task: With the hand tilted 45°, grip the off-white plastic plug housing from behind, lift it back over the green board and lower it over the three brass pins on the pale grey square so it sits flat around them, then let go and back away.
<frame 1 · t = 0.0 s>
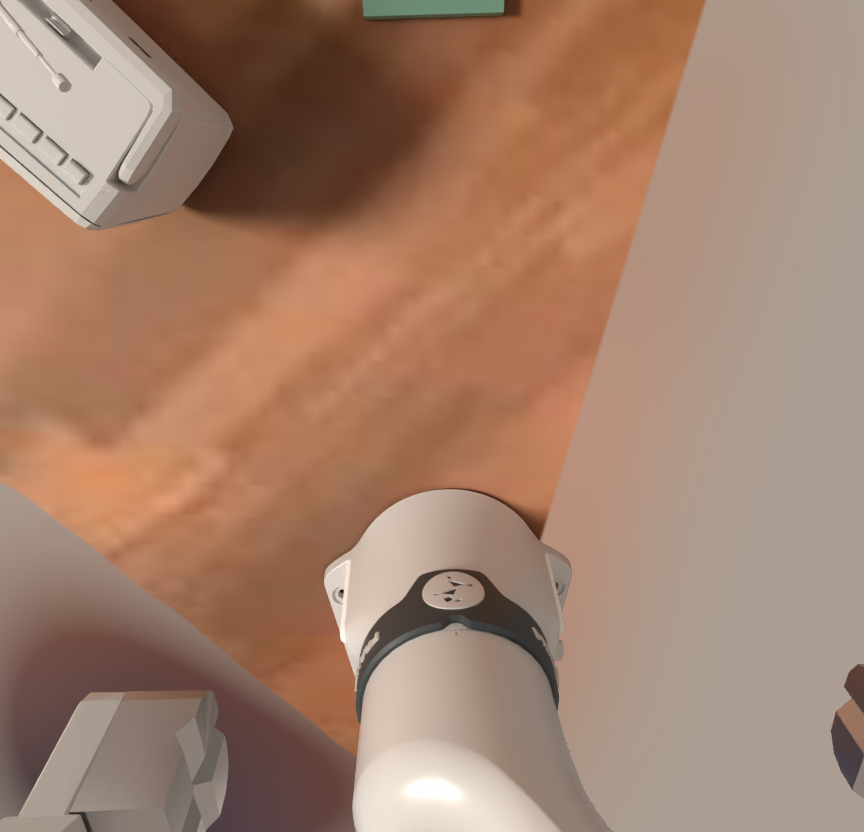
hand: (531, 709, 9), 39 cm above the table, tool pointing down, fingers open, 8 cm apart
stereo radio cassette player: (75, 39, 41), on the table
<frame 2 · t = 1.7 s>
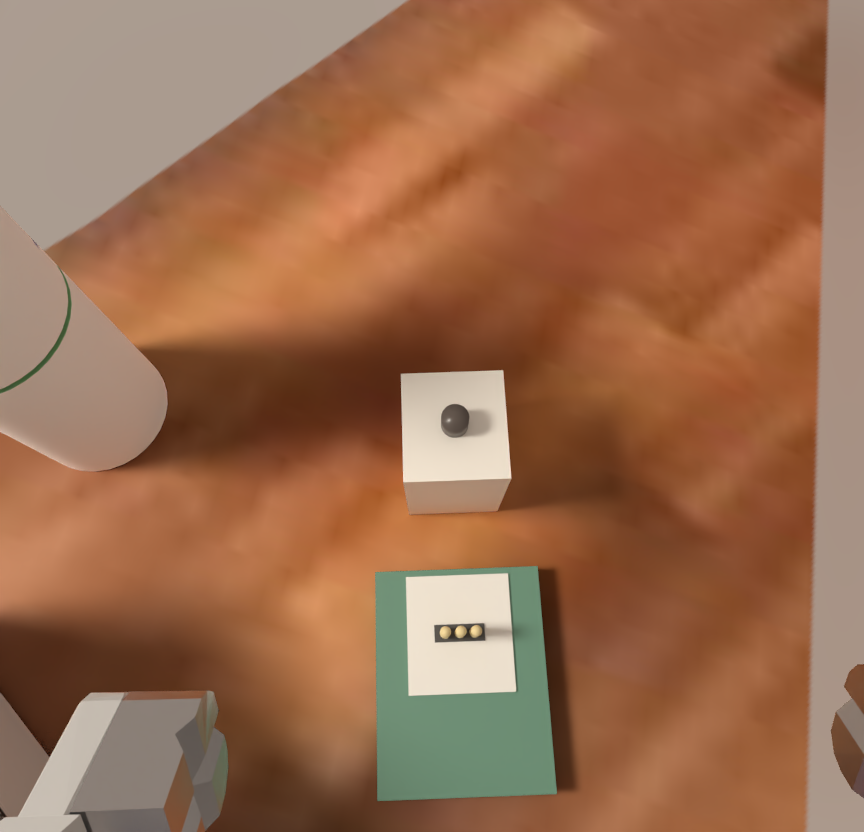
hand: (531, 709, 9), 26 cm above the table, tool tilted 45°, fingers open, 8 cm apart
stereo radio cassette player: (8, 822, 32), on the table
header board: (460, 677, 33), on the table
plug housing: (451, 466, 37), on the table
cylindrical container: (104, 409, 38), on the table
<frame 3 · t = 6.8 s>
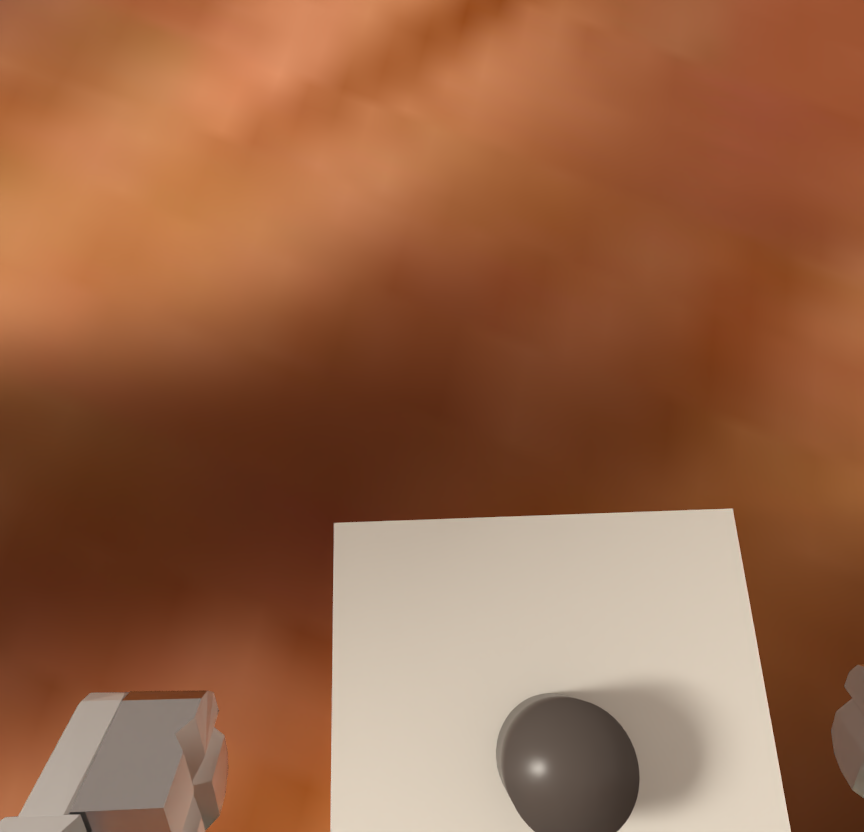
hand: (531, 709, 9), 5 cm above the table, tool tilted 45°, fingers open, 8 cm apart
plug housing: (496, 708, 14), on the table
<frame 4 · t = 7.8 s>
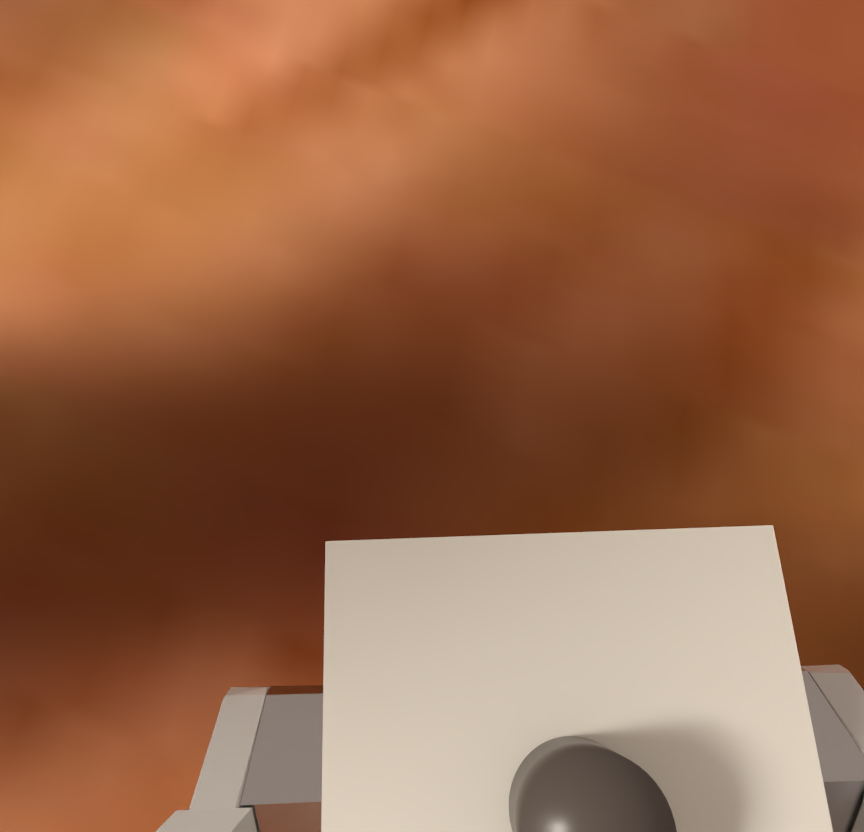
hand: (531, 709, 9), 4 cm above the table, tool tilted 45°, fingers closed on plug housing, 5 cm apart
plug housing: (502, 728, 13), on the table, touching gripper
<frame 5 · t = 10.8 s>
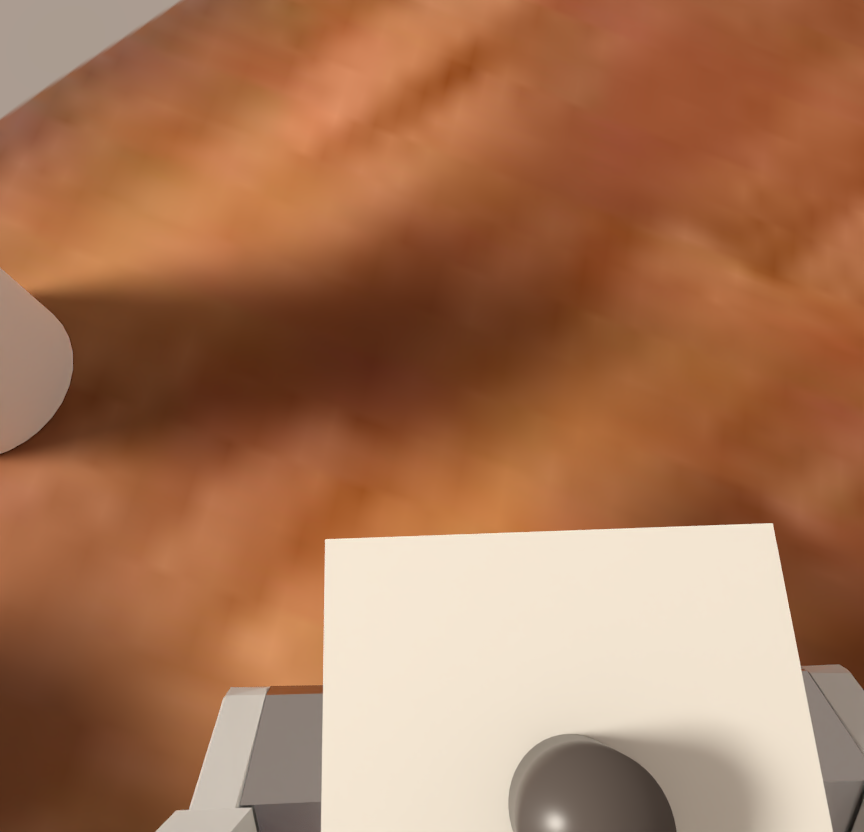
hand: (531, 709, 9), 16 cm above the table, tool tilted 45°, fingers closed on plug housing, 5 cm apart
plug housing: (502, 727, 13), point 12 cm above the table, touching gripper
when the fingers open (6 cm above the table, at t = 13.9 s): plug housing stays where it is, resting on header board.
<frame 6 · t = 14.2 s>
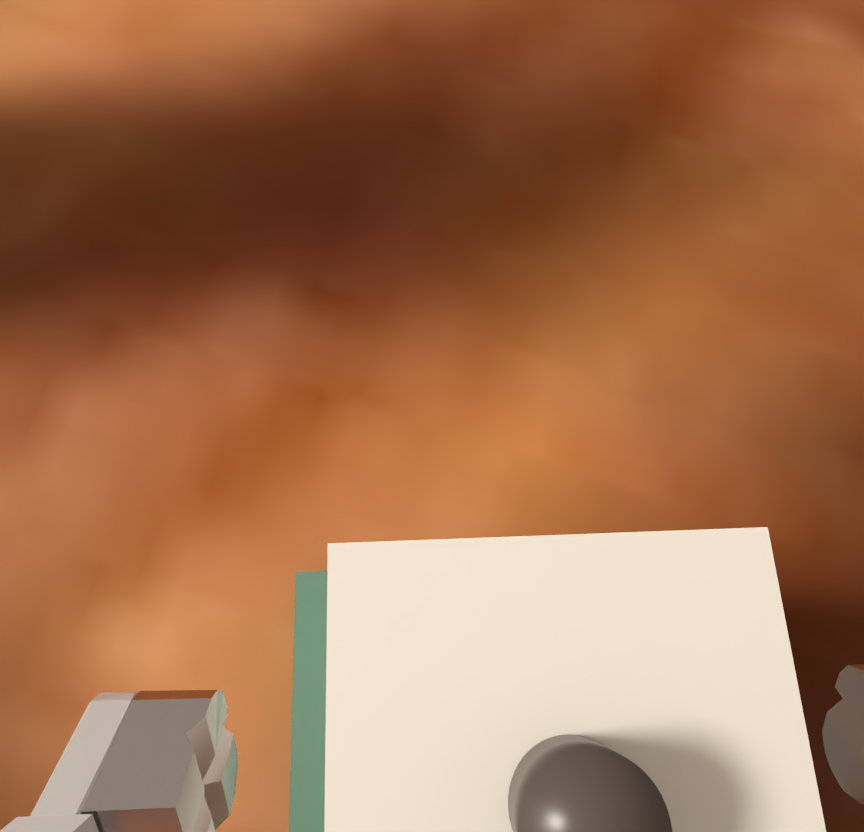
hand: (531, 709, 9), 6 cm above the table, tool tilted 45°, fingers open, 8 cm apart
plug housing: (502, 727, 13), point 1 cm above the table, touching header board
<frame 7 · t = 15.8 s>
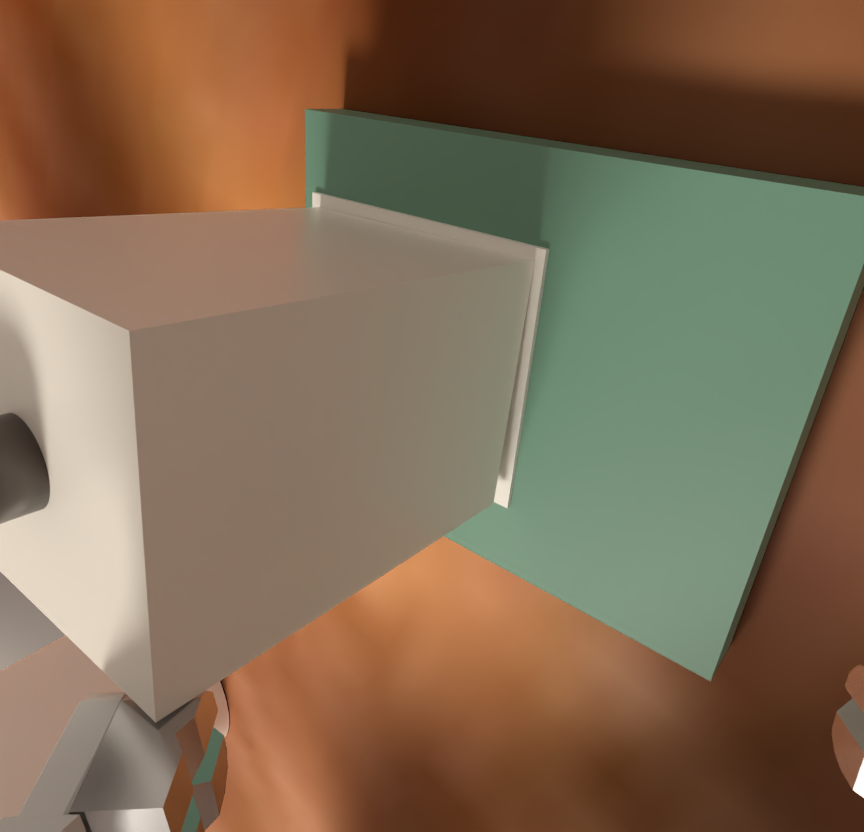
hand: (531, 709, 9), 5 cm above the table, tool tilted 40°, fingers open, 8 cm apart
header board: (524, 362, 13), on the table
plug housing: (403, 351, 13), point 1 cm above the table, touching gripper, header board
cylindrical container: (181, 666, 30), on the table
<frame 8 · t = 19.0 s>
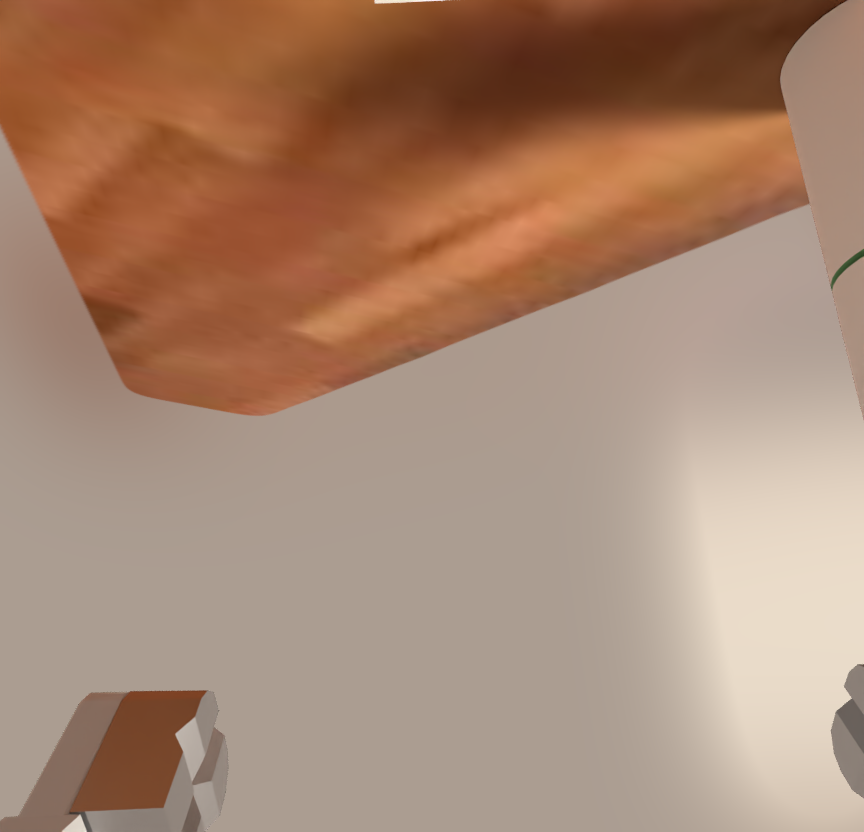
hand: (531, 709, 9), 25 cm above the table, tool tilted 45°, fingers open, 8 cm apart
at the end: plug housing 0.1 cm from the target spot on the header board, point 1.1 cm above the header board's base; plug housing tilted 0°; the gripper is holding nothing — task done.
